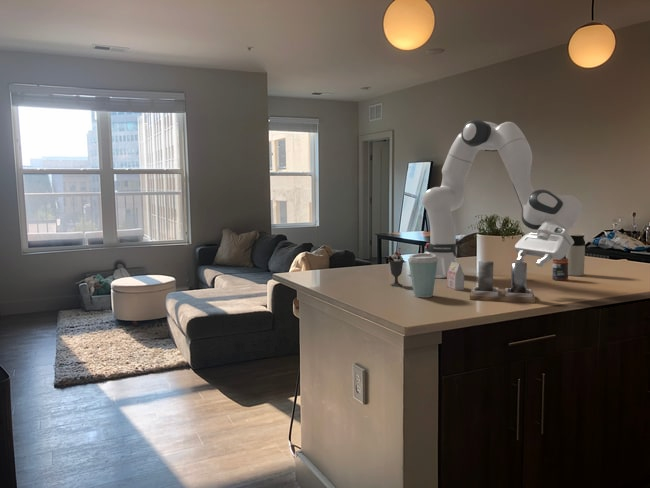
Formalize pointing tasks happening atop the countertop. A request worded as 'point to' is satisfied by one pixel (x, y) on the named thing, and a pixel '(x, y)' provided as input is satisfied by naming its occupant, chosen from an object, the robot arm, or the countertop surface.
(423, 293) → the disposable coffee cup
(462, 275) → the milk carton
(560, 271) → the supplement bottle
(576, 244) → the travel mug
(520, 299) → the board
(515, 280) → the loose pin
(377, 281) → the countertop surface
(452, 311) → the countertop surface
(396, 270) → the sundae
